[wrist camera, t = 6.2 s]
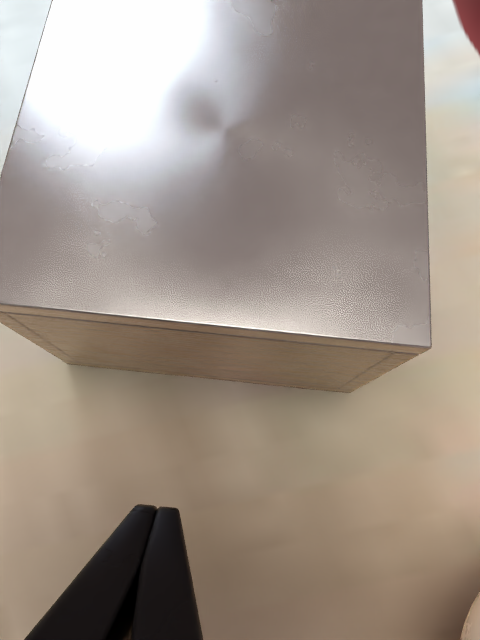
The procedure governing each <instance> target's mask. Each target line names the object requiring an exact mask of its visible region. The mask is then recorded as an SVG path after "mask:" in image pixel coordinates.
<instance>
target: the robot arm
mask: <svg viewBox="0 0 480 640" xmlns="http://www.w3.org/2000/svg"><path fill="white" fill-rule="evenodd" d="M24 640H203V636H202V630H201V625H200V620H199V614H198V609H197V604H196V598H195V593H194V588H193V582H192V577H191V572H190V566H189V561H188V556H187V550H186V545H185V540H184V534H183V529H182V524H181V518H180V513H179V510H178V509H177V508H172V507H159V508H158V509H157V507H156V506H152V505H142V504H139V505H136V506H135V507H134V508H133V509H132V510H131V511H130V513H129V514H128V515H127V516H126V517H125V519H124V520H123V521H122V522H121V523H120V525H119V526H118V527H117V528H116V529H115V531H114V532H113V533H112V534H111V536H110V537H109V538H108V539H107V540H106V542H105V543H104V544H103V545H102V546H101V548H100V549H99V550H98V551H97V552H96V554H95V555H94V556H93V557H92V558H91V560H90V561H89V562H88V563H87V564H86V566H85V567H84V568H83V569H82V570H81V572H80V573H79V574H78V575H77V576H76V578H75V579H74V580H73V581H72V583H71V584H70V585H69V586H68V587H67V589H66V590H65V591H64V592H63V593H62V595H61V596H60V597H59V598H58V599H57V601H56V602H55V603H54V604H53V605H52V607H51V608H50V609H49V610H48V611H47V613H46V614H45V615H44V616H43V617H42V619H41V620H40V621H39V622H38V623H37V625H36V626H35V627H34V628H33V630H32V631H31V632H30V633H29V634H28V636H27V637H26V638H25V639H24Z"/></svg>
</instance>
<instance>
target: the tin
mask: <svg viewBox="0 0 480 640" xmlns="http://www.w3.org/2000/svg"><path fill="white" fill-rule="evenodd" d="M0 322H1V323H2V324H4V325H5V326H7V327H9V328H10V329H12V330H14V331H15V332H17V333H19V334H20V335H22V336H23V337H25V338H27V339H28V340H30V341H32V342H33V343H35V344H36V345H38V346H40V347H41V348H43V349H45V350H46V351H48V352H49V353H51V354H53V355H54V356H56V357H58V358H59V359H61V360H63V361H64V362H65V363H67V364H71V365H81V366H90V367H100V368H110V369H120V370H130V371H139V372H149V373H159V374H169V375H179V376H188V377H198V378H208V379H218V380H228V381H238V382H247V383H257V384H267V385H277V386H287V387H296V388H306V389H316V390H326V391H336V392H345V393H351V392H353V391H354V390H356V389H358V388H360V387H361V386H363V385H365V384H367V383H369V382H370V381H372V380H374V379H376V378H378V377H380V376H381V375H383V374H385V373H387V372H389V371H391V370H392V369H394V368H396V367H398V366H400V365H401V364H403V363H405V362H407V361H409V360H411V359H412V358H414V357H416V356H418V355H419V354H415V353H405V352H395V351H385V350H375V349H366V348H356V347H346V346H336V345H326V344H317V343H307V342H297V341H287V340H277V339H267V338H258V337H248V336H238V335H228V334H218V333H208V332H199V331H189V330H179V329H169V328H159V327H150V326H140V325H130V324H120V323H110V322H100V321H91V320H81V319H71V318H61V317H51V316H42V315H32V314H22V313H12V312H2V311H0Z"/></svg>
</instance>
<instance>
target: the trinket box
mask: <svg viewBox="0 0 480 640" xmlns="http://www.w3.org/2000/svg"><path fill="white" fill-rule="evenodd" d="M460 640H480V592H479V594H478V596H477V597H476V599H475V600H474V602H473V604H472V606H471V608H470V610H469V613H468V615H467V618H466V620H465V623H464V626H463V631H462V635H461V639H460Z"/></svg>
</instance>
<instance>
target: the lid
mask: <svg viewBox="0 0 480 640" xmlns="http://www.w3.org/2000/svg"><path fill="white" fill-rule="evenodd" d="M0 311H2V312H12V313H22V314H32V315H42V316H51V317H61V318H71V319H81V320H91V321H100V322H110V323H120V324H130V325H140V326H150V327H159V328H169V329H179V330H189V331H199V332H208V333H218V334H228V335H238V336H248V337H258V338H267V339H277V340H287V341H297V342H307V343H317V344H326V345H336V346H346V347H356V348H366V349H375V350H385V351H395V352H405V353H415V354H422V353H424V352H425V351H427V350H429V349H431V347H432V343H431V306H430V269H429V232H428V195H427V158H426V121H425V84H424V47H423V10H422V0H52V2H51V5H50V9H49V12H48V16H47V19H46V23H45V26H44V29H43V33H42V36H41V40H40V43H39V47H38V50H37V53H36V57H35V60H34V64H33V67H32V71H31V74H30V77H29V81H28V84H27V88H26V91H25V94H24V98H23V101H22V105H21V108H20V112H19V115H18V118H17V122H16V125H15V129H14V132H13V136H12V139H11V142H10V146H9V149H8V153H7V156H6V159H5V163H4V166H3V170H2V173H1V177H0Z"/></svg>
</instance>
